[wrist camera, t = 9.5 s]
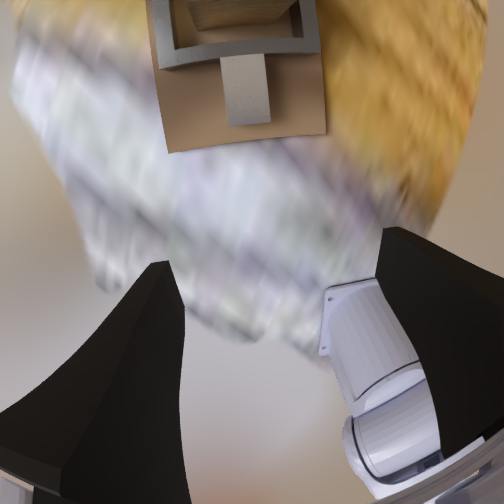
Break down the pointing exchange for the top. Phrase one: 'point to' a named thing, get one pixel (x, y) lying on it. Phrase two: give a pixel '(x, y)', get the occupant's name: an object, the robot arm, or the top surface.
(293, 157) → the top surface
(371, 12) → the top surface
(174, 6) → the brown board
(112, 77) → the top surface
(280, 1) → the block
